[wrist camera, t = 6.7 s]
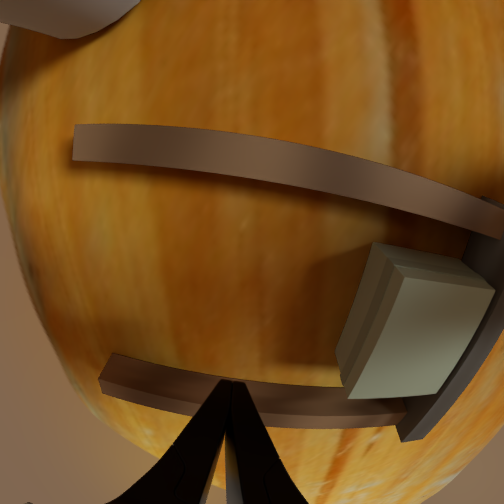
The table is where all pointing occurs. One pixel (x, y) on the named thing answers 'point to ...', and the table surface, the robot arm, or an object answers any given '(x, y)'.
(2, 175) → the table surface
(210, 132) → the bay
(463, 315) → the block
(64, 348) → the table surface
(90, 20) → the can
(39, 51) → the table surface
